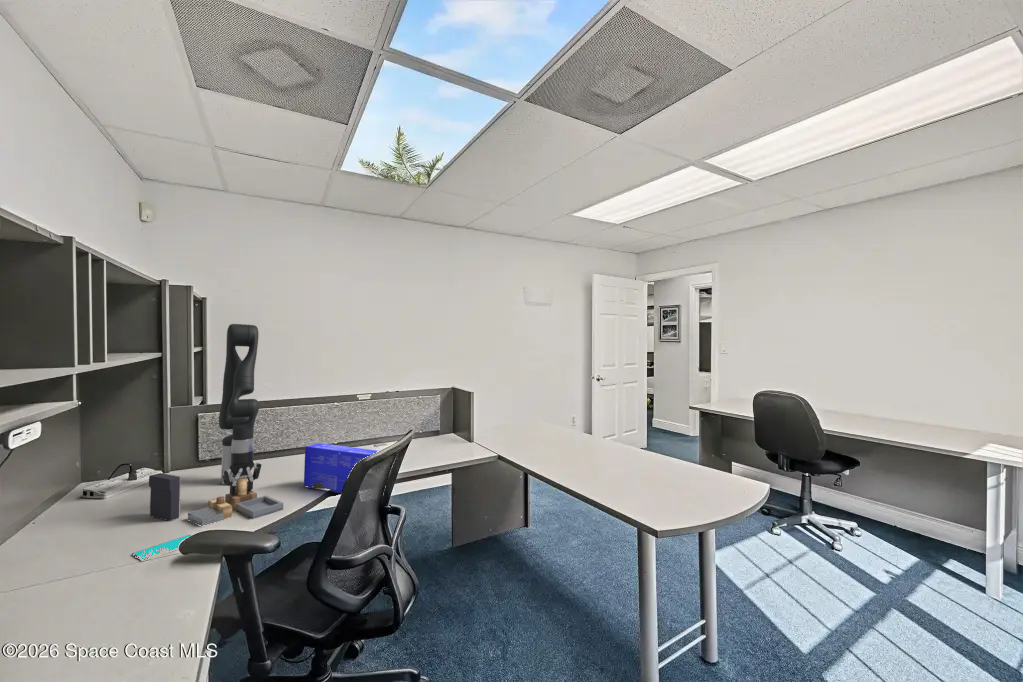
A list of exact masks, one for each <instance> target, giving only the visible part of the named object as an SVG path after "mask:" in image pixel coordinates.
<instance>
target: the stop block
mask: <svg viewBox="0 0 1023 682" xmlns="http://www.w3.org/2000/svg"><path fill="white" fill-rule="evenodd" d="M207 504H208V506H207V507H212V508H214V509H217V510H219V511H221V512H224V520H225V519H228V517H229V518H232V517H233V508H232V505H230V504H228V503H226V502H225V496H218V497H216V498H212V499H209V500H208V503H207ZM231 516H232V517H231Z"/></svg>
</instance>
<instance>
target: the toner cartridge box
mask: <svg viewBox="0 0 1023 682" xmlns="http://www.w3.org/2000/svg"><path fill="white" fill-rule="evenodd" d="M377 451H379V450H378V449H371V448H370V449H369V448H363V447H362V448H361V447H352V446H344V445H337V444H330V443H329V444H328V443H323V442H318V443H313V444H310V445H306V446H305V447H304V467H303V468H304V469H303V473H304V474H303V487H304V486H308V487H312V486H314V483H317V482H321V483H320V484H321V486H323V487H324V488H327V489H331V491H332V492H331V493H333V494H334V493H336V494H340V493H341V491H342V489H343V486H344V484H345V481H346V479H347V477H348V475H349V473H350V471H351V470H352V468H353V467H354V465H355V464H356V463H358V462H359V461H360V460H362V459H363V458H365V457H367V456H370V455H372V454H373V453H376V452H377Z"/></svg>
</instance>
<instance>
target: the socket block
mask: <svg viewBox="0 0 1023 682" xmlns="http://www.w3.org/2000/svg"><path fill="white" fill-rule="evenodd" d="M255 498H258V492H255V491H253V490H251V491H250V492H249V491H247V494H246V495H242V496H239V497H238V496H236V495H234V496H233V495H231V494H230V492H229V493H226V494H225V496H224V502H226V503H228V504H230V505H232V510H236V504H237V503H240V502H244V501H248V500H251V499H255Z"/></svg>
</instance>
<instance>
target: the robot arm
mask: <svg viewBox="0 0 1023 682" xmlns="http://www.w3.org/2000/svg"><path fill="white" fill-rule="evenodd" d="M237 347H248V351H247V353H246V355H245V357H244V358H243V360H242V359H241V357H240V356H239V354H238V352H237V349H236V348H237ZM258 347H259V329H258V327H257V325H254V324H244V323H243V324H242V323H231V324H229V325H228V327H227V330H226V348H225V349H226V353H225V365H224V373H223V379H222V380H223V381H222V398H221V405H220V410H219V415H218V427H219V429H220V430H223V431H224V430H225V431H226V430H232V434H229V435H228V436H227V435H226V436H225V437H224V438H222V441H221V472H220V473H221V475H220V477H221V478H220V484H221V485H225V486H227V487H229V493H230V494H231V495H233V496H234V495H236V482H237V480H238V479H239V478H241V477H247V491H249V492H250V491H253V488H254V481H255V480H258V479H259V477H260V473H261V469H262V464H261V463H259V462H256V463H254V453H255V452H254V450H255V442H254V431H255V430H254V429H255V428H254V427H255V423H256V419H257V416H258V413H259V410H260V402H259V401H258V399H257V398H248V399H247V398H241V397H243V396H246V395H247V396H248V395H251V394H252V393H254V391H255V368H256V361H257V356H258V354H257V353H258ZM252 470H253V473H252Z"/></svg>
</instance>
